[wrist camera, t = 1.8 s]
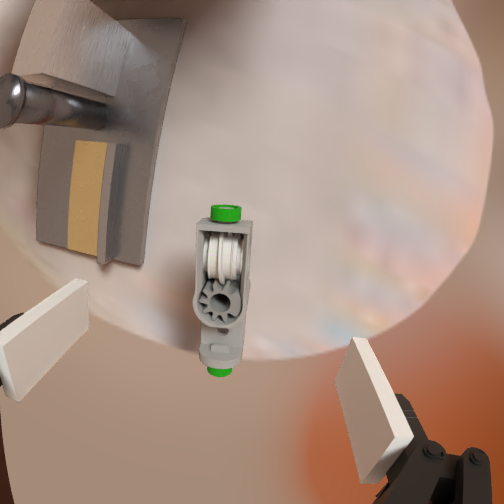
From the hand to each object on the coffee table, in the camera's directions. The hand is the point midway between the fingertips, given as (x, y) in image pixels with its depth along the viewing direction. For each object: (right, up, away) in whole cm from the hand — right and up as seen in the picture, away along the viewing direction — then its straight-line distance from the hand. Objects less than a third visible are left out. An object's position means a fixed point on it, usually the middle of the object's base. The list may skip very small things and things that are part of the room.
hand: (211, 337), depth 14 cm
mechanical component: (+1, +4, +12) cm, 13 cm away
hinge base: (-12, +14, +10) cm, 21 cm away
